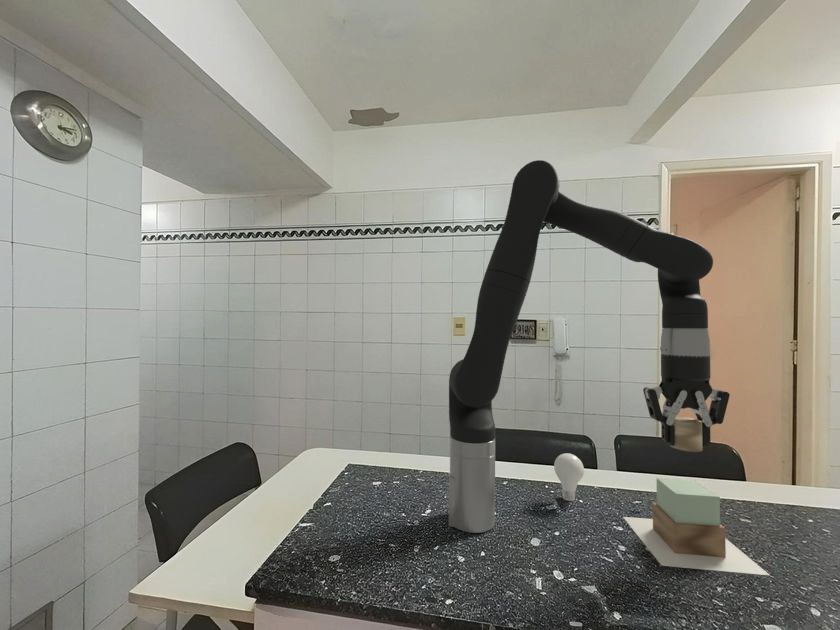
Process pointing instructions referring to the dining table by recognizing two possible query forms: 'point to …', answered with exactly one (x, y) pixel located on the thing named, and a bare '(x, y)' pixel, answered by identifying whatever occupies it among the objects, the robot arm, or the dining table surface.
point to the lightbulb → (569, 474)
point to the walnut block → (689, 535)
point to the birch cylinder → (688, 434)
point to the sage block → (688, 502)
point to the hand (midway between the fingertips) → (685, 444)
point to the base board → (667, 557)
